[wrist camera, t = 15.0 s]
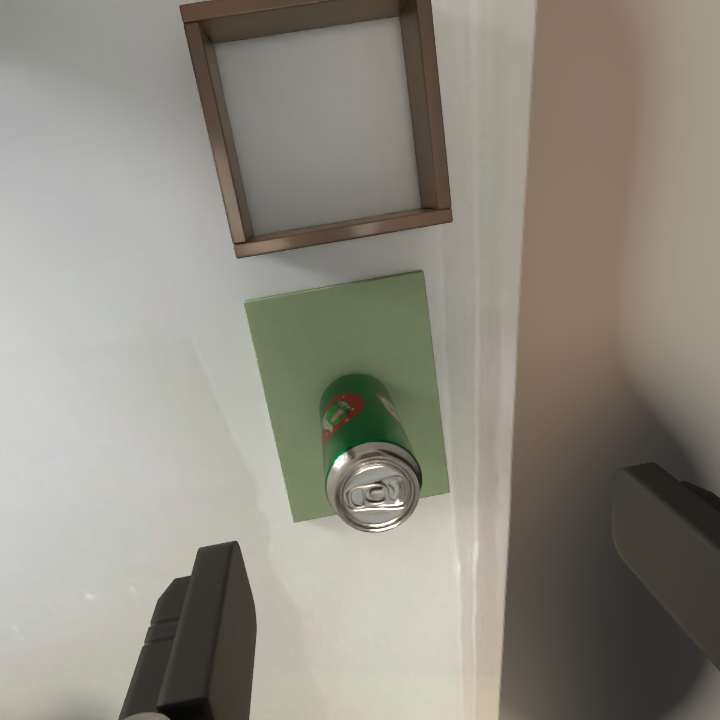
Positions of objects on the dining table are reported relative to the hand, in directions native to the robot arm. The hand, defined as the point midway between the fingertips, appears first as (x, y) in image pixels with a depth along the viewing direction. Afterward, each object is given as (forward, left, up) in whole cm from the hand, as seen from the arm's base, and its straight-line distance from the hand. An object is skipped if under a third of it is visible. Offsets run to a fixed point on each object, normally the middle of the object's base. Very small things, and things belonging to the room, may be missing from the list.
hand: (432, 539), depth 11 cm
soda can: (0, -7, -26) cm, 27 cm away
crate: (+1, +11, -26) cm, 28 cm away
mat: (0, -7, -26) cm, 27 cm away
